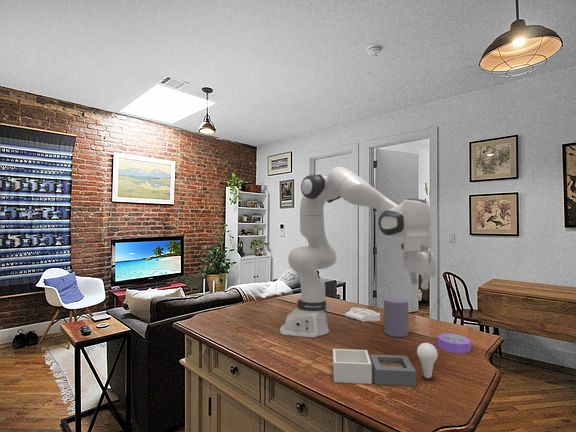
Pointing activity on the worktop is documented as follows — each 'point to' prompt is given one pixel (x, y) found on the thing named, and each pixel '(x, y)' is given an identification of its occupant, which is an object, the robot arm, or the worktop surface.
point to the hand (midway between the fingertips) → (419, 286)
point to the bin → (352, 366)
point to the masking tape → (454, 343)
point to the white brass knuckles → (363, 314)
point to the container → (396, 317)
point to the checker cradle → (393, 371)
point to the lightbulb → (427, 358)
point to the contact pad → (391, 365)
